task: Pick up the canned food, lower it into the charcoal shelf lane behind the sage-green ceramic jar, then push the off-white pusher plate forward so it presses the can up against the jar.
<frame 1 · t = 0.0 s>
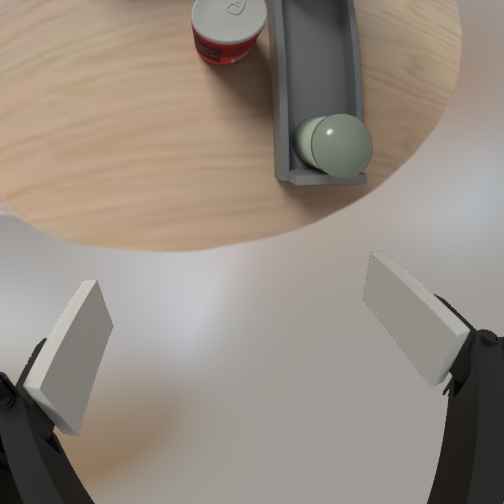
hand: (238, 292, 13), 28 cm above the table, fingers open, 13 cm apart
canned food: (224, 42, 30), on the table
green jar: (316, 141, 36), point 1 cm above the table, touching lane
lane: (311, 65, 32), on the table
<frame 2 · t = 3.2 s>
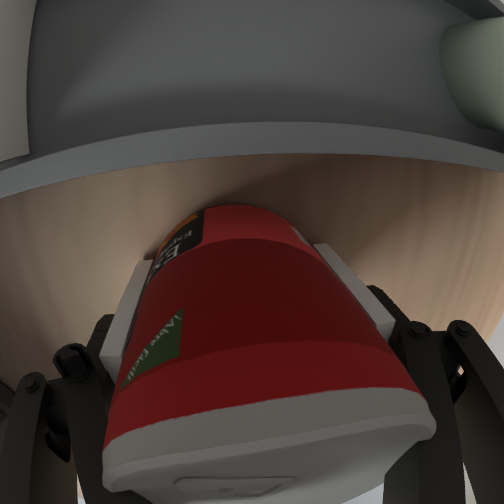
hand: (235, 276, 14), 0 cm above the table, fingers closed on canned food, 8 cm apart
canned food: (234, 272, 14), on the table, touching gripper
green jar: (475, 75, 10), point 1 cm above the table, touching lane
lane: (298, 29, 10), on the table
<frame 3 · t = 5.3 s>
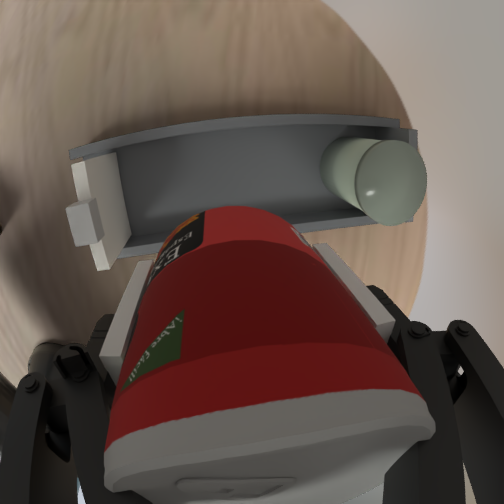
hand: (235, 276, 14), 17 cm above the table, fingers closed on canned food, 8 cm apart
canned food: (234, 272, 14), point 16 cm above the table, touching gripper
green jar: (348, 167, 29), point 1 cm above the table, touching lane
pusher: (102, 207, 22), point 6 cm above the table, slide at 0.0 cm
lane: (243, 173, 28), on the table
when the fingers open (3 cm above the table, at t = 7.4 s): canned food drops 1 cm, resting on lane.
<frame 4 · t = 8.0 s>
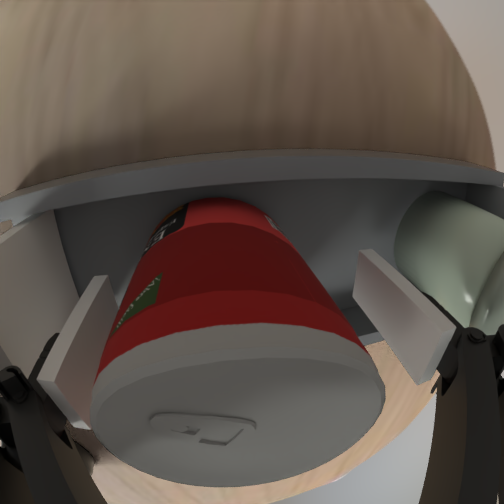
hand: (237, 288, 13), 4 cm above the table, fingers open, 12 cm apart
canned food: (217, 259, 16), point 1 cm above the table, touching lane
green jar: (429, 236, 18), point 1 cm above the table, touching lane
pusher: (30, 326, 10), point 6 cm above the table, slide at -0.1 cm, touching gripper
lane: (276, 246, 17), on the table
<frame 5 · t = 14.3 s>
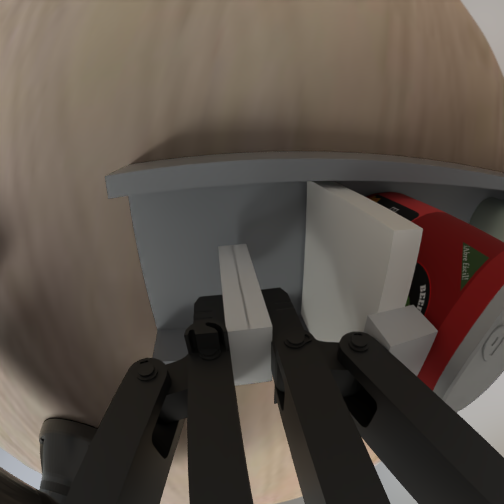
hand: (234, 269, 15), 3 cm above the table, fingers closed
canned food: (375, 245, 17), point 1 cm above the table, touching pusher
green jar: (485, 233, 19), point 1 cm above the table, touching lane
pusher: (348, 296, 12), point 6 cm above the table, slide at 6.8 cm, touching canned food, hand
lane: (389, 237, 18), on the table
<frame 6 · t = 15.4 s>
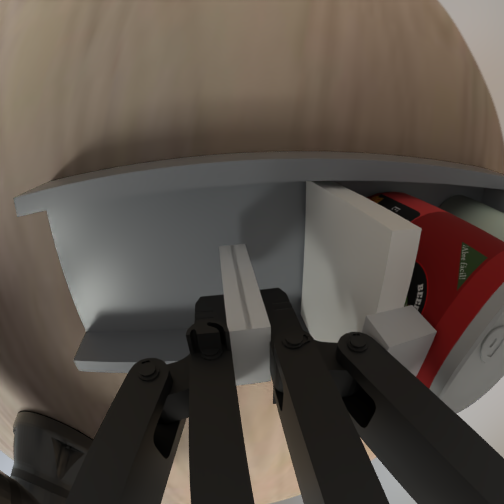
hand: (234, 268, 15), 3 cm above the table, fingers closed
canned food: (380, 244, 17), point 1 cm above the table, touching green jar, pusher
green jar: (452, 237, 18), point 1 cm above the table, touching canned food, lane
pusher: (347, 296, 12), point 6 cm above the table, slide at 12.4 cm, touching canned food, hand
lane: (317, 243, 18), on the table
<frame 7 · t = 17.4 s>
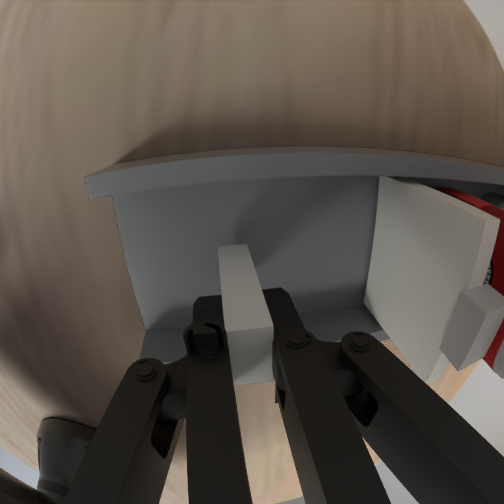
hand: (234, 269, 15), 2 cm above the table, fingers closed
canned food: (431, 234, 17), point 1 cm above the table, touching green jar, lane
green jar: (486, 229, 18), point 1 cm above the table, touching canned food, lane
pusher: (425, 281, 12), point 6 cm above the table, slide at 12.0 cm
lane: (384, 234, 18), on the table
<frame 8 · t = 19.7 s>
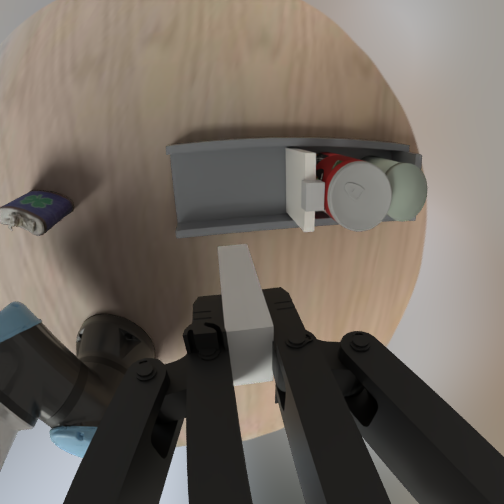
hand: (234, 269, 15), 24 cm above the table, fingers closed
canned food: (324, 178, 38), point 1 cm above the table, touching green jar, lane
flask: (50, 200, 34), on the table
green jar: (370, 178, 38), point 1 cm above the table, touching canned food, lane
pusher: (301, 187, 32), point 6 cm above the table, slide at 12.0 cm
lane: (295, 178, 38), on the table
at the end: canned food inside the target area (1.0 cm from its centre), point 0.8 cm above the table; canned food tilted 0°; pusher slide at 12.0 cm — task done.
